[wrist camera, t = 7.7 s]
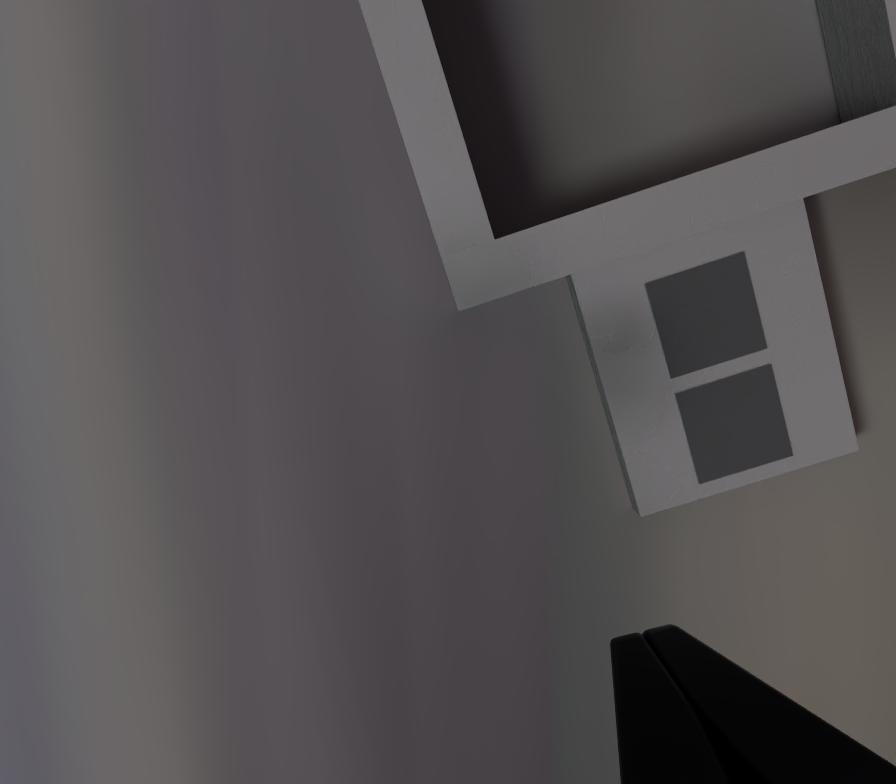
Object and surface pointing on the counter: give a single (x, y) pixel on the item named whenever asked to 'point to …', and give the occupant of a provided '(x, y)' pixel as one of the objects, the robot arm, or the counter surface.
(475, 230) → the light grey flat frame
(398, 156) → the counter surface
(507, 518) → the counter surface
